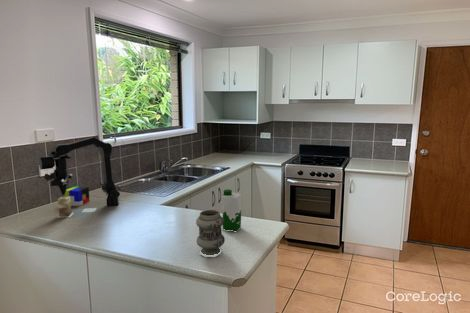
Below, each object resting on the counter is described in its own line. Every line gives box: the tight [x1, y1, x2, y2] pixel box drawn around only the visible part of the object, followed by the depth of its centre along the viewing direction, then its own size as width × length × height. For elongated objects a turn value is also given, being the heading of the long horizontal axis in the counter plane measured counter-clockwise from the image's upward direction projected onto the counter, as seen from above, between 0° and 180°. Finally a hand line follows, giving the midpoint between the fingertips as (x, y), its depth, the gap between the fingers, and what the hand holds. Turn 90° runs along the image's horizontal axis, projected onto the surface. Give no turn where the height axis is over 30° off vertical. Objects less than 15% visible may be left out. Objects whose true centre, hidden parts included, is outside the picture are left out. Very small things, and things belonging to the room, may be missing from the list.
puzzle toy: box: [63, 186, 90, 207], centre depth 212 cm, size 10×10×10 cm
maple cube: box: [57, 196, 72, 209], centre depth 189 cm, size 5×5×5 cm
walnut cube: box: [58, 205, 72, 218], centre depth 190 cm, size 5×5×5 cm
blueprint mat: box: [55, 207, 97, 219], centre depth 194 cm, size 18×14×1 cm
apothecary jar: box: [195, 209, 226, 255], centre depth 142 cm, size 12×12×18 cm
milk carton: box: [221, 189, 242, 232], centre depth 169 cm, size 9×9×20 cm
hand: (63, 194), depth 188 cm, fingers closed
